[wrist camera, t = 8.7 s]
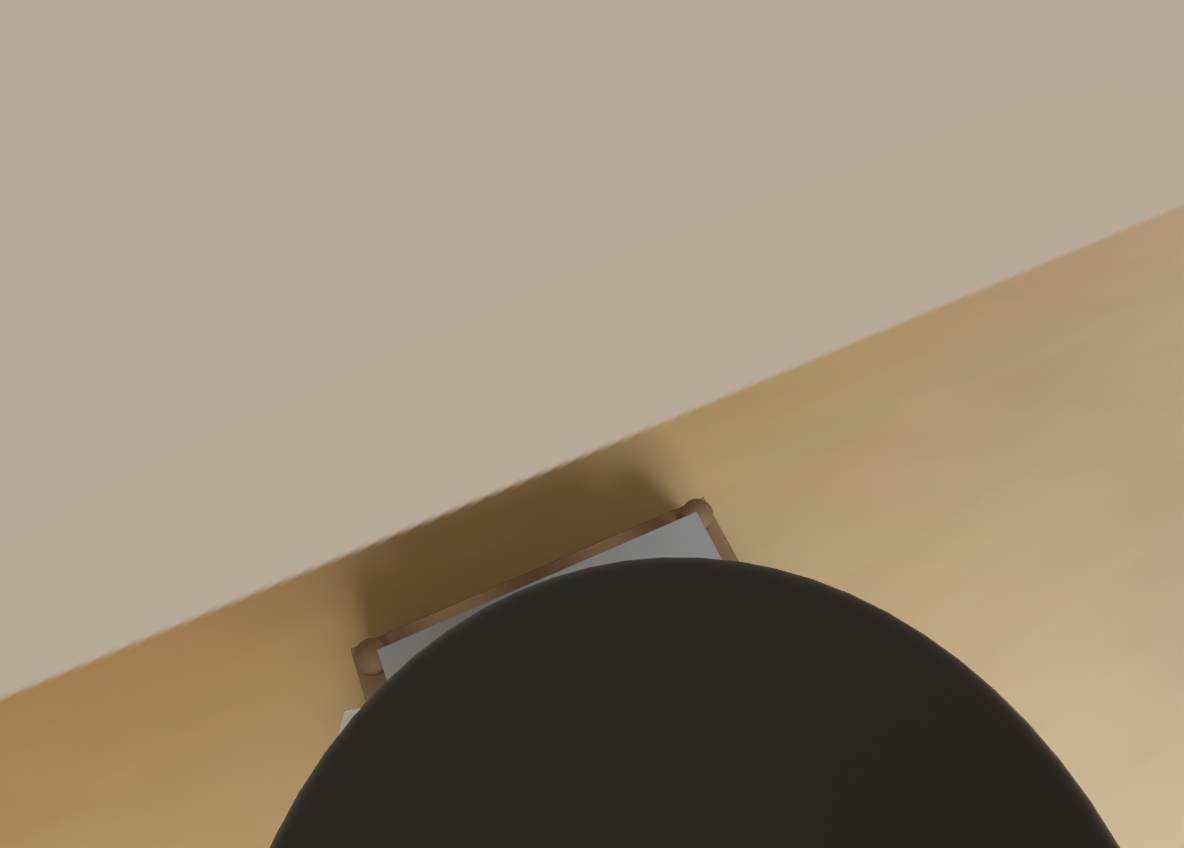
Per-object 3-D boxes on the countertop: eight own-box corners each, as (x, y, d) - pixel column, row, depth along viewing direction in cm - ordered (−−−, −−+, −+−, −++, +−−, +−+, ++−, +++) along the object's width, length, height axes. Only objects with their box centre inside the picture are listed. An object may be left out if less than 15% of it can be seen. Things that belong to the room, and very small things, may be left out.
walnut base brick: (695, 526, 36) (705, 489, 33) (881, 876, 30) (922, 881, 26) (373, 667, 34) (344, 644, 30) (503, 1082, 27) (487, 1121, 24)
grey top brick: (687, 543, 32) (696, 512, 29) (850, 854, 27) (881, 856, 24) (400, 669, 30) (377, 649, 27) (518, 1032, 25) (506, 1059, 22)
